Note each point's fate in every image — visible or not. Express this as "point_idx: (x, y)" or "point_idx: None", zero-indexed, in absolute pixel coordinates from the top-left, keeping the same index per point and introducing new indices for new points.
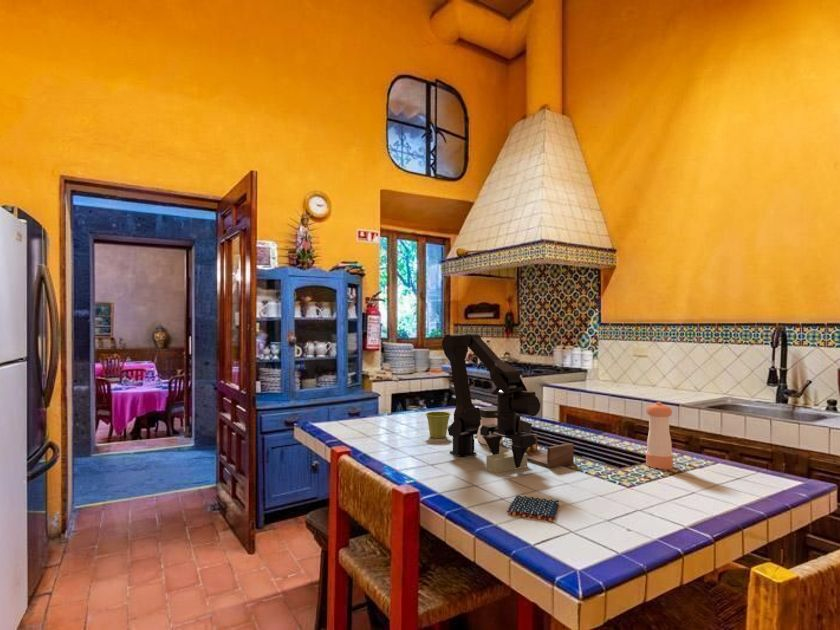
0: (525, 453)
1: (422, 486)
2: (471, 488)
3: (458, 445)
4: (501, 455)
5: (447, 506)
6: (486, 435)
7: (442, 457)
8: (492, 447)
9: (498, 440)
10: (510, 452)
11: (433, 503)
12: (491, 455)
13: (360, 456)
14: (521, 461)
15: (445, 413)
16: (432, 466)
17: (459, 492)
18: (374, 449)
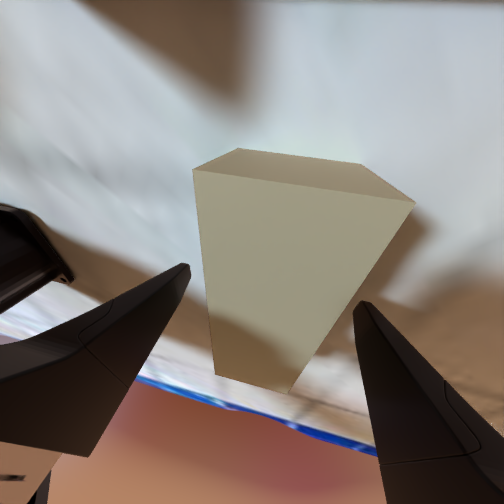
0: (383, 211)
1: (251, 411)
2: (322, 410)
3: (8, 308)
4: (249, 352)
5: (342, 442)
6: (46, 479)
7: (74, 305)
8: (143, 357)
9: (62, 382)
10: (226, 281)
11: (318, 437)
12: (219, 365)
13: None
14: (402, 336)
15: None
16: (153, 356)
17: (318, 419)
18: (11, 329)
